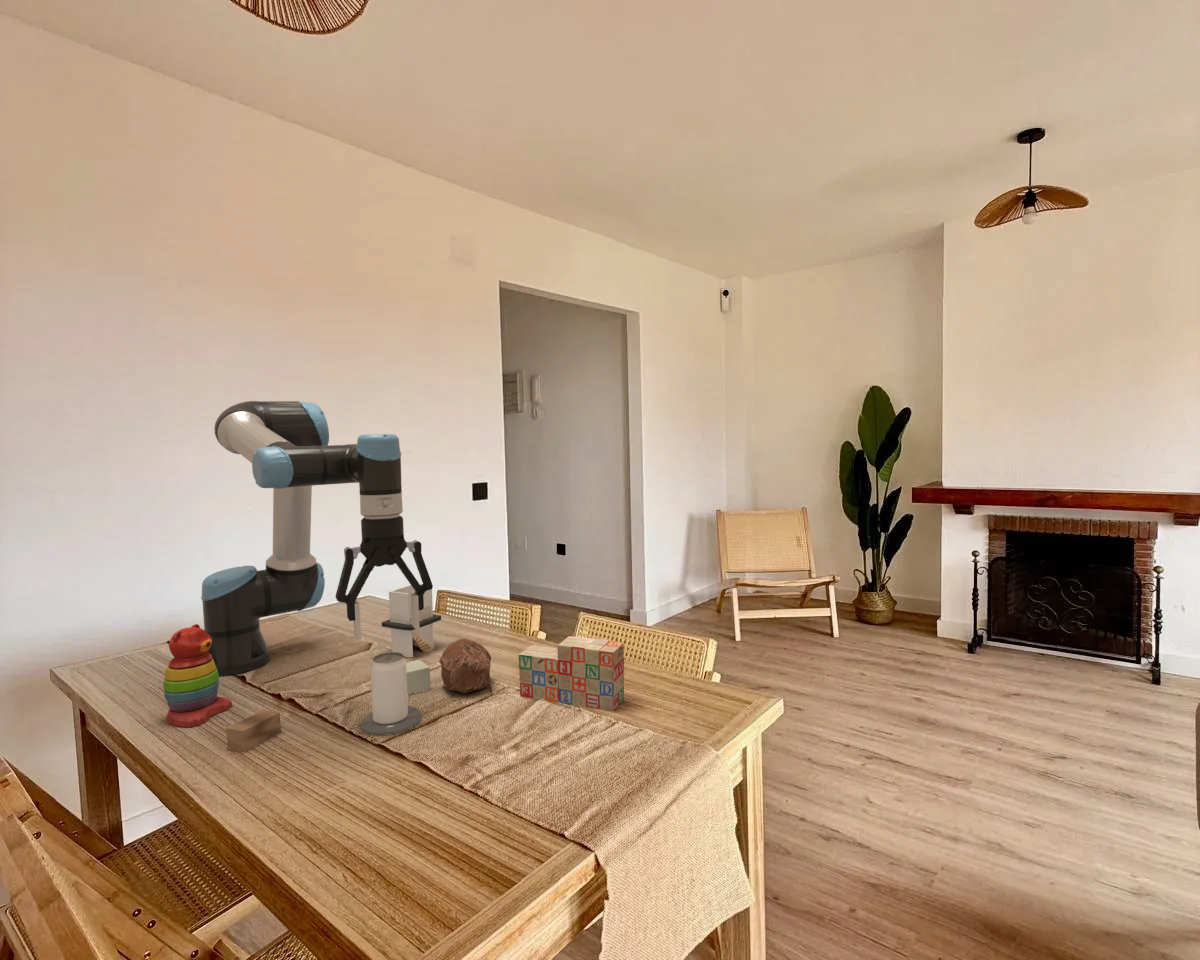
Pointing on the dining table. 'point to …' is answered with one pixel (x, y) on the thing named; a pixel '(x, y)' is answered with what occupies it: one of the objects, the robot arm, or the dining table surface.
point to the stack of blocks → (575, 673)
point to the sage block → (417, 676)
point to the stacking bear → (192, 679)
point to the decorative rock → (465, 666)
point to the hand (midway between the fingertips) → (387, 631)
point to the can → (389, 688)
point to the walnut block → (253, 730)
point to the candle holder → (410, 622)
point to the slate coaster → (378, 729)
